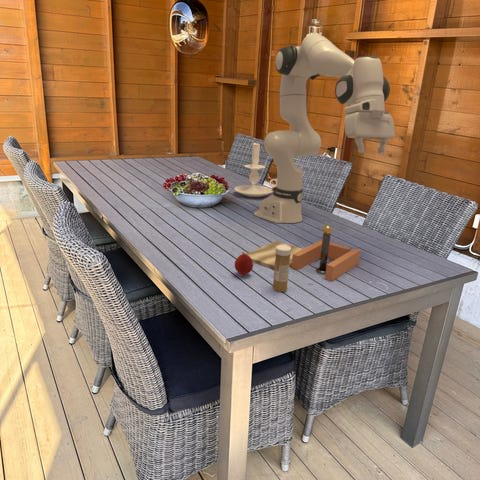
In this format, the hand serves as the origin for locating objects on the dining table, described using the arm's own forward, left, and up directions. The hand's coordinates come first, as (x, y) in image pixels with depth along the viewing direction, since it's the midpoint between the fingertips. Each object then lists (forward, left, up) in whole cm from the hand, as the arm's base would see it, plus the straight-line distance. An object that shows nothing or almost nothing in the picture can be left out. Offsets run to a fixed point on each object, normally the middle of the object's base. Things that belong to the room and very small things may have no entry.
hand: (371, 152), depth 144 cm
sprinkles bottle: (-9, -34, -39) cm, 52 cm away
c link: (-8, -8, -39) cm, 40 cm away
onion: (-23, -34, -39) cm, 56 cm away
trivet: (-24, -12, -39) cm, 47 cm away
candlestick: (-82, +54, -39) cm, 106 cm away
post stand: (-6, -13, -39) cm, 41 cm away
